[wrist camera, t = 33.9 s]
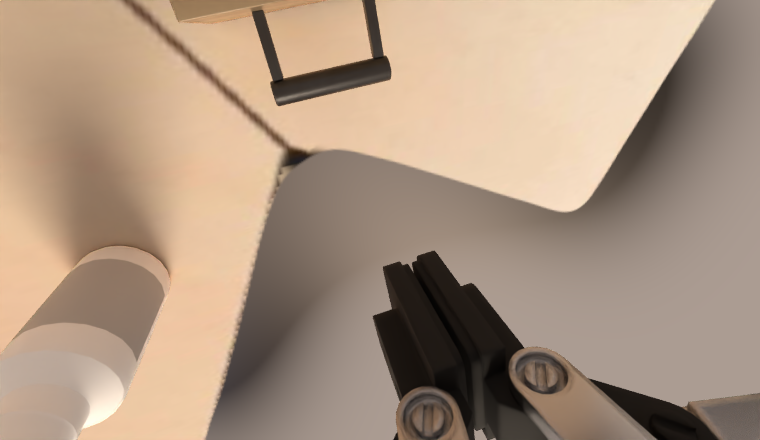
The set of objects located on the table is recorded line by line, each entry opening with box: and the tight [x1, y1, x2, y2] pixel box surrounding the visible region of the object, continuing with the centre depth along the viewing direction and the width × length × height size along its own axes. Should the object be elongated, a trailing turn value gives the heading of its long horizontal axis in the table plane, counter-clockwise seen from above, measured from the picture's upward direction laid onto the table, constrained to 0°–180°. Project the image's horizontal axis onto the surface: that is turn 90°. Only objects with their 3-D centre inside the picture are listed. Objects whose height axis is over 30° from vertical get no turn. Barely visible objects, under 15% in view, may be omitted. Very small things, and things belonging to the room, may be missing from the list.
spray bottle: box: [0, 246, 171, 440], centre depth 23 cm, size 7×7×18 cm
